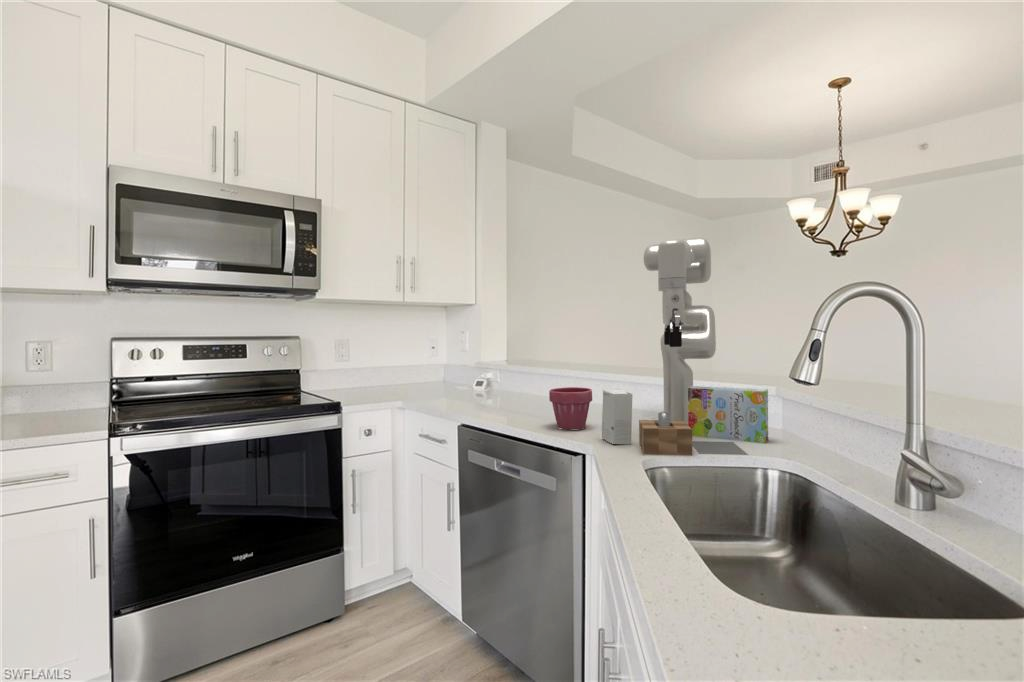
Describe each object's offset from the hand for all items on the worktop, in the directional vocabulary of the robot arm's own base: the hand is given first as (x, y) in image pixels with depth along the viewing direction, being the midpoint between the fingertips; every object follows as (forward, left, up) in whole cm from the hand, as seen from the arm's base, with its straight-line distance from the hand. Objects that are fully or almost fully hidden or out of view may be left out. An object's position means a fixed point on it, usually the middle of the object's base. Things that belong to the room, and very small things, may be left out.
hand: (672, 345), depth 140 cm
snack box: (-6, +16, -28) cm, 33 cm away
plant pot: (-18, -30, -28) cm, 45 cm away
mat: (+7, +10, -28) cm, 30 cm away
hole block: (+10, -4, -28) cm, 30 cm away
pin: (+10, -4, -28) cm, 30 cm away
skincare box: (+1, -16, -28) cm, 32 cm away
